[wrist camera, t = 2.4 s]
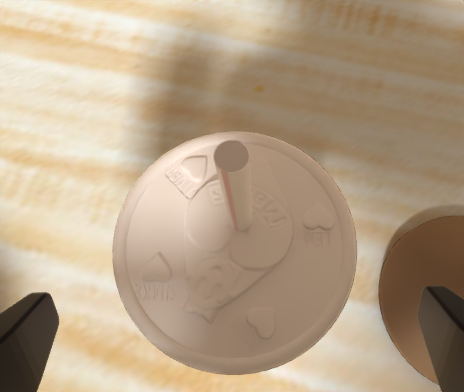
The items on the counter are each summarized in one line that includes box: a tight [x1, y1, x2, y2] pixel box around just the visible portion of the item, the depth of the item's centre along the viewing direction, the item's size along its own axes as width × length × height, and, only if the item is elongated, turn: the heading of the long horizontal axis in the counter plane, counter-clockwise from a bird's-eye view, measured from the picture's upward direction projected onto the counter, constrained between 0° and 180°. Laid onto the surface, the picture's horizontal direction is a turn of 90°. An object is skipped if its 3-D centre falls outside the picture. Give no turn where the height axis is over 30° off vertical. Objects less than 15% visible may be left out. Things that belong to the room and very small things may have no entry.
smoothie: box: [112, 131, 357, 375], centre depth 12 cm, size 6×6×14 cm
